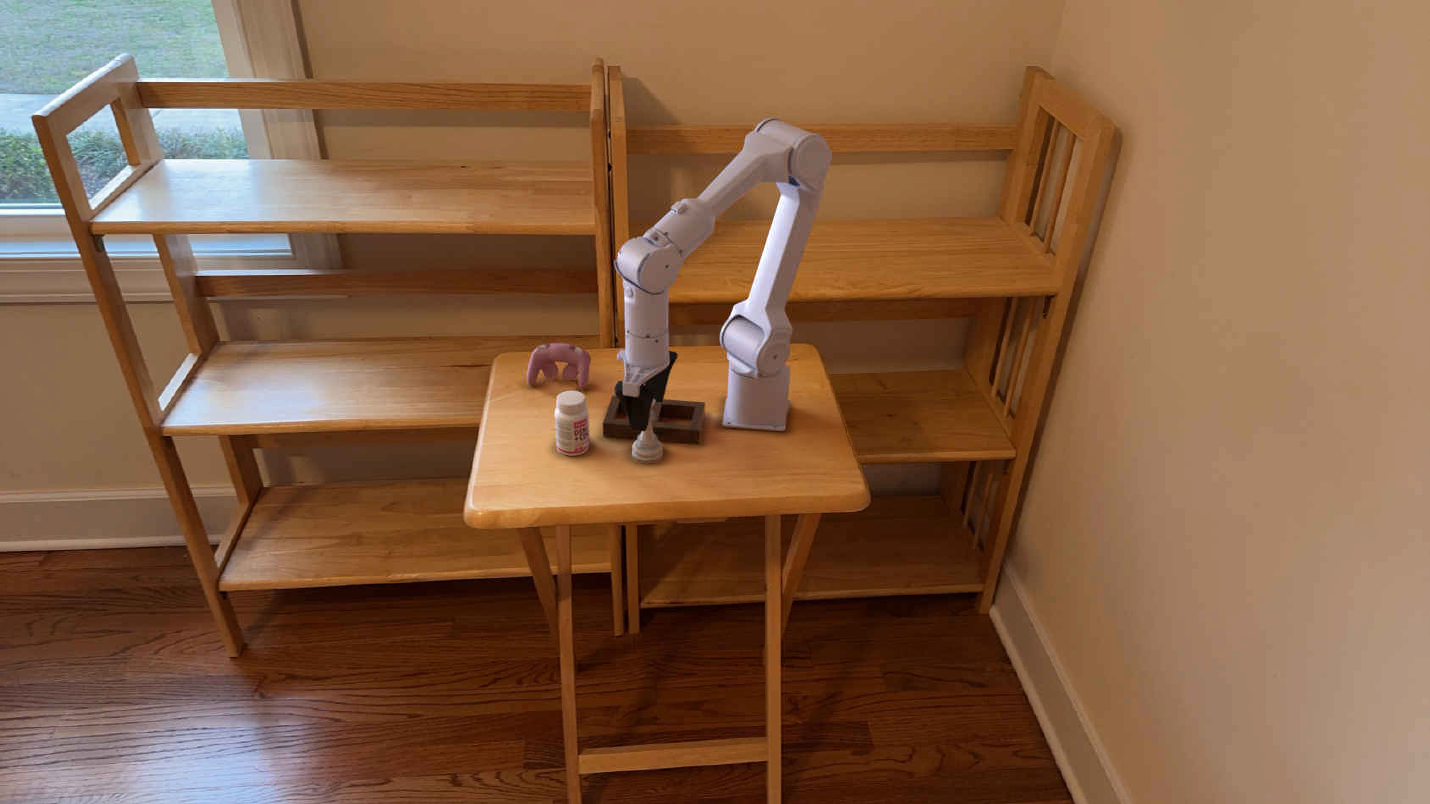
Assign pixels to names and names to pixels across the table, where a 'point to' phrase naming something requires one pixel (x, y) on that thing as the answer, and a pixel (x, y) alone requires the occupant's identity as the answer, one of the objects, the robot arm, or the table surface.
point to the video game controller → (559, 352)
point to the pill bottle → (572, 423)
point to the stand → (659, 421)
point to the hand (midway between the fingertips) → (647, 414)
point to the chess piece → (647, 444)
